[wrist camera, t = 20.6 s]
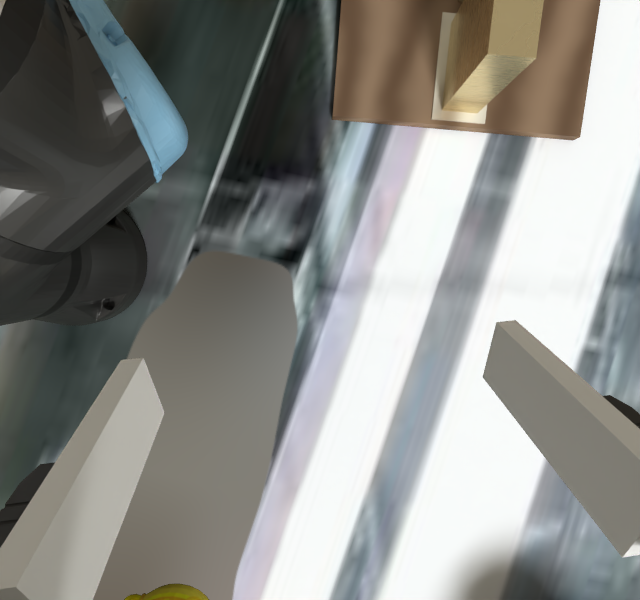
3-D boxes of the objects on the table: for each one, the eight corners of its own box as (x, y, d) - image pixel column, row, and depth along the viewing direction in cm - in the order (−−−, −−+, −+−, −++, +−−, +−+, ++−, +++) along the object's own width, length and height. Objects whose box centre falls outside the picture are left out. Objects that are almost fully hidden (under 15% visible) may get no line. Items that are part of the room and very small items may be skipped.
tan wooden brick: (441, 110, 37) (487, 53, 27) (451, 23, 36) (502, -69, 26) (477, 113, 37) (536, 58, 27) (487, 26, 36) (552, -64, 26)
